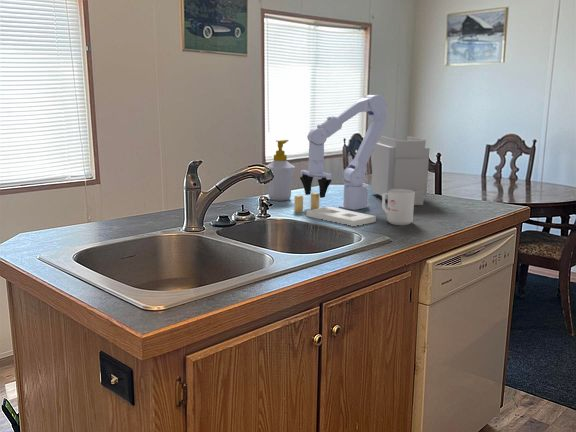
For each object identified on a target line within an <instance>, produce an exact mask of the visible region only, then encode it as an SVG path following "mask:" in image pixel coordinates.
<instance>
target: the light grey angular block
mask: <svg viewBox="0 0 576 432" xmlns="http://www.w3.org/2000/svg"><path fill="white" fill-rule="evenodd" d="M426 141H427V140H426V139H424V138H421V137H420V138H419V137H415V136H410V135H409V136H408V135H407V136H406V140H398V139H396V138H391V137H387V136H384V135H380V141H379V140H378V141H377V143H376V145H375V147H374V149H373V152H372V167H371V168H372V170H371V172H372V173H371V188H370V189H371V190H370V191H372V192H373V193H376V194H377V195H379V196H381V198H382V193H388V191H389V190H392V189H405V190H412V191H414V192H415V195H414V206H424V201H425V200H424V199H425V198H424V197H427V191H428V190H427V189H428V177H429V165H430V163H429V161H430V150H431V149H430V147H427V146H426V143H427V142H426ZM385 201H387V202H388V194H386V195H385Z"/></svg>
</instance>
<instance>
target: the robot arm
mask: <svg viewBox="0 0 576 432" xmlns="http://www.w3.org/2000/svg"><path fill="white" fill-rule="evenodd" d="M387 103H388V102H387V101H386V100H385V97H384V96H383V95H381V94H367V95H365V96H363V97H361V98H359V99H358V100H356V101H355V102H354V103H353V104H352V105H350V106H349V107H348V108H347V109H345V110H344V111H343V112H341V113H340V114H339V115H337V116H336V115H331V116H328V117H326V120H325V121H323V122H322V123H321V124H317V125H316V128H312V129H310V131H309V132H308V134H307V135H306V136H307V140H308V142H309V143H308V144H309V146H308V170H307V169H301V170H300V177H299V179H300V181H301V184H302V185H303V188H304V193H305V195H306V196H309V195H310V196H311V193H312V192H311V191H312V184H313V180H314V178H318V179H317V182H318V188H319V199H320V198H321V199H322V198H325V197H326V194H327V191H328V189H329V187H330V184H331V183H332V179H333V177H332V176H333V174H332V173H327V172H325V171H324V159H325V142H326V141H327V139H329V138H330V137H331V136H333V135H334V134H336V133H337V132H338V131H340V130H341V129H342V126H343V124H344V123H345V122H347V121H349V120H350V119H352V118H353V117H355V116H356V115H358V114H359V113H367V115H368V116H369V120H370V124H369V127H368V128H367V130H366V133H365V135H364V137H363V138H362V141H361V143H360V145H359V147H358V149H357V152H356V153H355V156H354V158H353V159H352V160H351V161H350V162H349V164H348V166H347V167H345V169H343V170H342V178H343V181H344V183H343V204H342V205H338V208H340V209H345V210H350V211H356V210H360V209H367V208H369V205H368V193H369V191H368V188H367V186H366V185H364V182H365V181H366V172H367V171H368V167H367V165H368V162H369V160H370V158H371V155H373V149H374V147H375V145H376V143H378V141H379V139H380V138H381V136H382V135H381V134H382V133H383V130H384V128H385V125H386V124H387V108H388V104H387Z"/></svg>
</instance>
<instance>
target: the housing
mask: <svg viewBox="0 0 576 432" xmlns="http://www.w3.org/2000/svg"><path fill="white" fill-rule="evenodd" d="M305 215H306V217H309V218H314V219H317V220H321V219H323V220H322V221H326V220H327V221H326V222H330V221H332V222H331V223H335V222H337V223H336V224H339V223H342V224H341V225H343V224H347V225H346V226H348V225H351V226H350V227H352V226H355V227H358V226H357V225H359V226H364V225H367V224H372V223H375V222H376V220H377V216H376V215H372V214H367V213H363V212H358V211H354V210H350V209H345V208H340V207H338V208H337V207H332V206H324V207H323V206H322V207H319V208H318V209H313V210H312V209H309V210H308V209H307V210H306V214H305ZM363 224H364V225H363Z"/></svg>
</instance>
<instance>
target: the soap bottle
mask: <svg viewBox="0 0 576 432" xmlns="http://www.w3.org/2000/svg"><path fill="white" fill-rule="evenodd" d="M275 142H277V148H278V149H277V150H276V151H275V154H273V160H272V161H271V162H270V163H268V164H267V165H265V166H267V167H269V168H270V169H271V170H272V171H273V174H274V179H273V180H272V181H271V182H269V183H268V197H269V199H270V200H271V201H276V202H284V201H285V202H286V201H288V200H290V199H291V197H292V182H293V175H294V173H295V169H296V166H295V165H294V164H292V163H290V162H289V161H287V160H288V159H287V157H288V156H287V154H285V150H283V147H284V144H286V143H288V142H289V139H281V140H275Z"/></svg>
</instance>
